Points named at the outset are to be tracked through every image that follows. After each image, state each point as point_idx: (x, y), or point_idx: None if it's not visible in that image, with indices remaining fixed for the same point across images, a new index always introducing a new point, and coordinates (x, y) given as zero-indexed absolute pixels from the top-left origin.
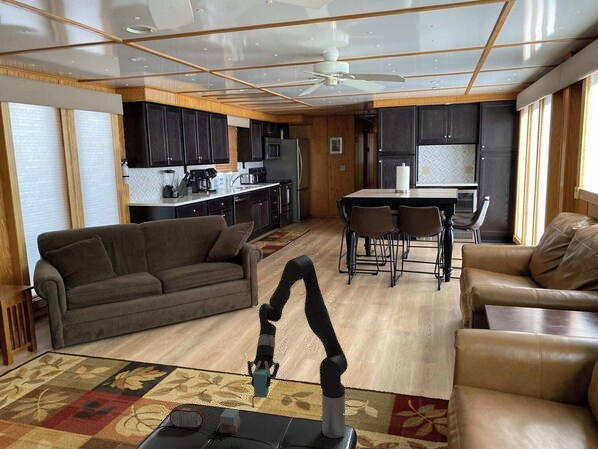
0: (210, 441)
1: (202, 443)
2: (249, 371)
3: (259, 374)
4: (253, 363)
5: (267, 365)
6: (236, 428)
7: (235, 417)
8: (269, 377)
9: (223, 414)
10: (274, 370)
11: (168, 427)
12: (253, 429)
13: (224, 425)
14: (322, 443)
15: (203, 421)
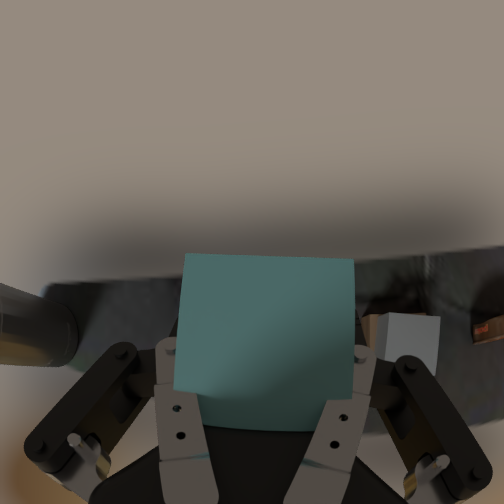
0: (422, 264)
1: (437, 252)
2: (421, 383)
3: (272, 258)
4: (408, 500)
5: (168, 448)
6: (365, 323)
7: (383, 333)
8: (172, 341)
9: (432, 329)
10: (96, 386)
11: None
12: None
13: (409, 313)
14: (82, 281)
15: (474, 329)
